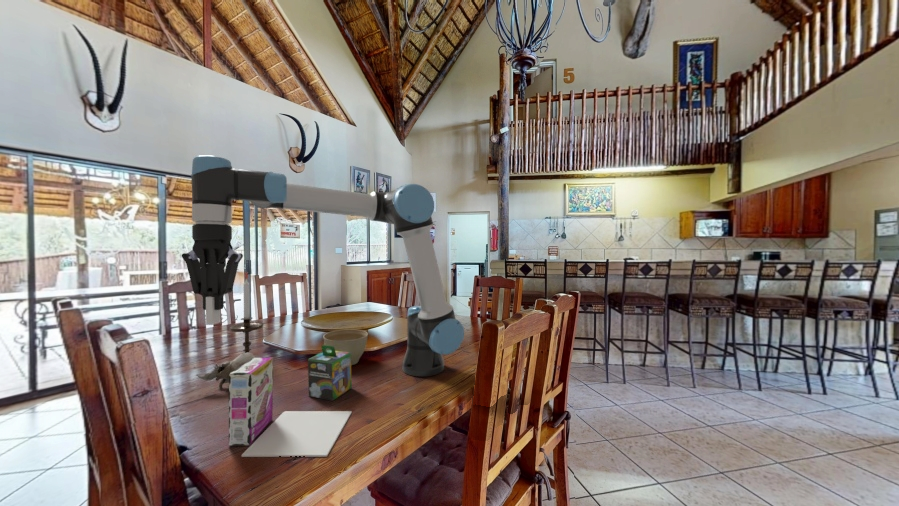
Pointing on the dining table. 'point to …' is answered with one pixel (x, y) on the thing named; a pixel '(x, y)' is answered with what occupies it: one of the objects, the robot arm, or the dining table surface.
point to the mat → (300, 434)
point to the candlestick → (246, 319)
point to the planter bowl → (347, 342)
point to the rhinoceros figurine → (227, 369)
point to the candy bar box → (250, 400)
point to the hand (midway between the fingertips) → (213, 323)
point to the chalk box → (329, 373)
